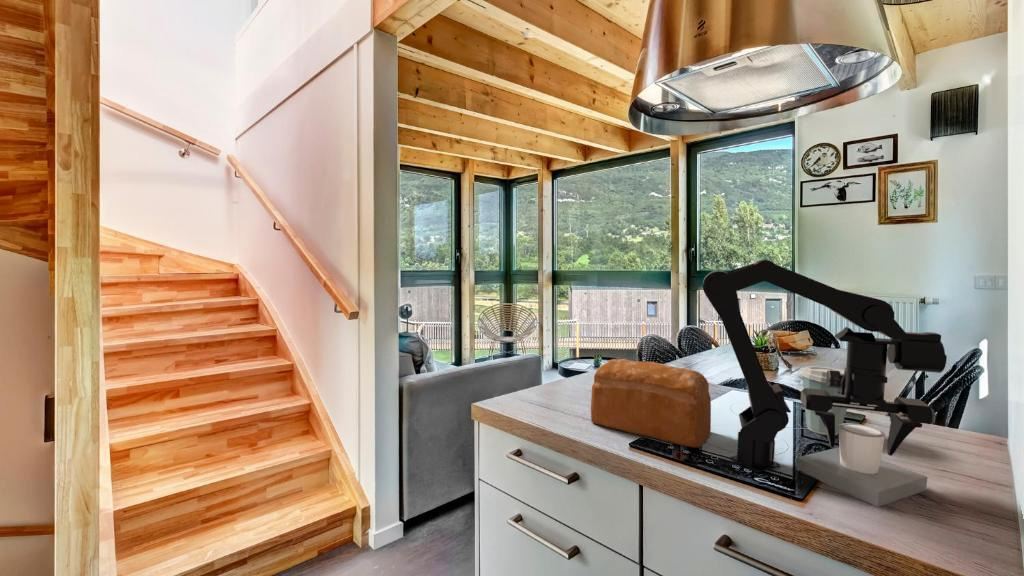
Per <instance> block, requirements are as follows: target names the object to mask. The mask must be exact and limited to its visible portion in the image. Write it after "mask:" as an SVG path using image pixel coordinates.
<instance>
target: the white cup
mask: <svg viewBox="0 0 1024 576" xmlns="http://www.w3.org/2000/svg"><path fill="white" fill-rule="evenodd" d="M885 437H886V433H885V432H883V431H882V430H881V429H879V428H876V427H873V426H870V425H865V424H862V423H861V424H860V423H854V422H848V423H846V422H843V424H840V425H839V435H838V440H839V441H838V442H839V444H838V445H839V447H840V463H841V464H842V465H843V466H844V467H846V468H848V469H850V470H853V471H857V472H860V473H867V474H875V473H878V470H879V465H880V460H882V454H883V449H884V443H885V440H886V438H885Z"/></svg>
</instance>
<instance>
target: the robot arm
mask: <svg viewBox="0 0 1024 576" xmlns="http://www.w3.org/2000/svg"><path fill="white" fill-rule="evenodd" d="M762 282H766V283H769V284H772V285H774V286H777V287H779V288H781V289H783V290H786V291H788V292H791V293H792V294H796V295H798V296H801V297H803V298H805V299H807V300H810V301H812V302H815V303H817V304H820V305H822V306H824V307H825V308H827V309H829V310H831V311H832V312H834V313H835V314H837V315H838V316H840V317H841V318H842V319H844V320H846V321H847V322H850V323H851V324H852V325H854V326H856V327H859V328H861V329H862V330H865V331H868V332H862V331H853V329H851V328H850V327H848V326H845V327H844V328H843V329H842V330H841V331H839V332H838V333H836V334H834V338H835V339H836V340H838V341H840V342H846V343H847V351H846V363H845V366H846V367H844V369H843V370H844V375H840V372H839V371H831V370H828V371H827V378H826V384H827V387H832V388H838V393H839V394H841V395H844V397H838V396H830V395H829V393H828V392H827V391H826V390H821V389H811V388H804V389H802V390H801V392H800V403H801V404H802V406H803V407H804V409H805V408H806V409H808V410H812V411H813V412H814V413H815V415H818V416H820V417H821V419H822V422H823V424H824V427H825V430H826V434H827V435H826V436H827V440H828V442H829V446H830V447H831V449H834V448H835V445H836V444H835V443H836V436H835V415H834V413H833V412H832V411H831V409H832V406H834V407H843V408H847V409H854V410H861V411H862V410H863V411H871V412H880V413H881V412H882V413H889V418H890V419H889V420H890V421H889V422H890V425H889V432H888V439H887V444H886V454H887V455H888V456H891V457H892V456H893V455H894V454H895V452H896V451H897V449H899V447H900V445H901V444H902V442H904V440H905V439H906V438H907V436H909V435H910V434H911V433H912V432H913V431H914V430H915V429H916V428H919V429H921V428H923V424H926V425H933V424H935V419H936V414H935V410H934V408H932V407H931V406H930V405H928V403H925V402H924V401H922V400H921V399H918V398H910V397H908V398H907V397H902V396H901V397H900V396H896V397H895V398H894V400H893V401H887V400H886V399H885V389H886V388H885V386H886V384H888V377H887V376H886V375H887V374H886V373H887V362H889V363H890V364H894V366H895V368H896V369H897V370H900V371H902V370H903V371H913V372H926V373H936V374H937V373H938V374H940V373H942V372H944V370H945V368H946V365H947V359H948V358H947V354H946V352H945V351H946V350H945V347H944V343H943V342H942V335H941V334H940V333H938V332H937V333H936V332H910V331H908V332H907V331H905V330H904V329H903V328H902V327H901V325H900V324H899V323H898V321H896V319H895V311H894V308H893V305H891V304H890V303H889V302H887V301H885V300H883V299H879V298H876V297H871V296H868V295H862V294H858V293H855V292H850V291H845V290H841V289H837V288H835V287H832V286H830V285H828V284H825V283H823V282H821V281H818V280H815V279H813V278H811V277H807V276H805V275H803V274H800V273H798V272H795V271H792V270H791V269H788V268H786V267H783V266H780V265H779V264H776V263H774V262H773V261H772V260H768V259H760V260H757V261H755V262H754V263H751V264H748V265H744V266H741V267H738V268H734V269H731V270H729V271H723V270H718V269H717V270H712V271H710V272H709V273H707V274H706V276H704V278H703V281H702V289H703V292H704V294H705V297H706V298H707V299H708V301H709V303H710V304H711V306H712V308H714V310H715V312H716V313H717V315H718V317H719V318H720V320H721V321H722V325H723V327H724V330H725V332H726V334H727V336H728V339H729V342H730V344H731V346H732V350H733V352H734V354H735V357H736V359H737V361H738V365H739V367H740V370H741V373H742V375H743V378H744V379H745V383H746V387H747V393H748V394H747V395H748V401H749V407H747V408H746V409H744V410H743V411H741V412H740V413H739V414H738V418H739V423H740V427H741V428H740V430H739V431H738V432H737V451H736V452H737V453H736V454H735V455H732V456H730V457H729V459H730V460H731V461H733V462H735V463H738V464H739V465H741V466H743V467H745V468H747V469H750V470H751V471H753V470H754V471H753V472H755V471H756V472H755V473H761V471H763V472H765V471H766V470H767V471H770V470H774V469H778V468H781V464H780V463H778V462H777V461H774V460H775V450H776V449H775V447H776V440H775V439H776V436H777V434H778V432H781V431H783V430H784V429H785V428H786V427H787V425H788V424H789V421H790V420H789V414H790V413H792V410H791V409H790V407H789V406H788V404H787V402H786V400H785V395H784V392H783V390H782V388H781V387H780V385H779V383H775V384H771V383H769V381H768V378H767V377H766V375H765V372H764V370H763V367H762V365H761V362H760V360H759V357H758V355H757V352H756V350H755V347H754V345H753V342H752V339H751V337H750V334H749V333H748V332H749V331H748V329H747V326H746V324H745V322H744V320H743V316H742V314H741V310H740V304H739V297H738V291H741V290H743V289H747V288H749V287H752V286H754V285H757V284H760V283H762ZM873 332H875V333H879V334H881V335H883V336H885V337H888V338H883V337H882V338H881V337H880V338H879V337H875V335H874V334H873ZM887 360H888V361H887ZM788 413H789V414H788Z"/></svg>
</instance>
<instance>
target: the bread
mask: <svg viewBox="0 0 1024 576" xmlns="http://www.w3.org/2000/svg"><path fill="white" fill-rule="evenodd" d="M709 387H710V385H709V382H708V380H707V378H706V377H705V375H704V374H702V373H701V372H699V371H696V370H692V369H687V368H682V367H680V368H679V367H676V366H675V367H674V366H671V365H668V364H666V363H665V364H664V363H660V362H653V361H639V360H638V361H637V360H630V359H626V358H625V359H624V358H623V359H621V358H620V359H618V358H614V359H613V358H611V359H609V360H608V361H607V362H605V363H604V364H602V365H601V366H599V367H598V368H597V370H596V371H595V373H594V376H593V383H592V386H591V396H590V397H591V398H590V401H591V402H590V419H591V421H590V422H591V423H592V424H594V425H595V424H596V425H599V426H603V427H605V428H609V429H615V430H618V431H622V432H625V433H630V434H633V435H639V436H643V437H648V438H651V439H655V440H658V441H659V440H660V441H664V442H667V443H671V444H676V445H681V446H685V447H690V448H699V447H701V446H702V445H704V444H705V443H706V442H707V441H708V439H709V438H710V435H711V431H712V427H711V426H712V425H711V424H712V423H711V422H712V419H711V417H712V401H711V395H710V392H709V391H710V390H709V389H710V388H709Z"/></svg>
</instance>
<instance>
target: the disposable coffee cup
mask: <svg viewBox="0 0 1024 576" xmlns="http://www.w3.org/2000/svg"><path fill="white" fill-rule="evenodd" d="M828 370H831V371H839V372H840V375H844V370H845V369H840V368H833V367H826V366H815V365H814V366H813V365H812V366H805V367H804V368H802V371H801V376H802V385H803V386H802V388H803V389H804V388H811V389H821V390H826V391H827V392H828V393H829V395H830V396H838V397H844V395H841V394H839V393H838V388H832V387H827V384H826V378H827V371H828ZM803 389H802V390H803ZM847 410H848V408H843V407H834V406H832V409H831V411H832V412H833V413H834V415H835V435H836V436H839V435H838V434H839V425H840V424H843V423H844V421H845V417H846V414H847ZM804 411H805V412H804V414H805V424H806V426H807V429H808V430H809V431H810V432H812V433H815V434H818V435H822V436H823V435H824V436H827V434H826V430H825V427H824V424H823V422H822V419H821V417H820V416H818V415H815V413H814V412H813V411H812V410H808V409H806V408H805V407H804Z"/></svg>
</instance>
